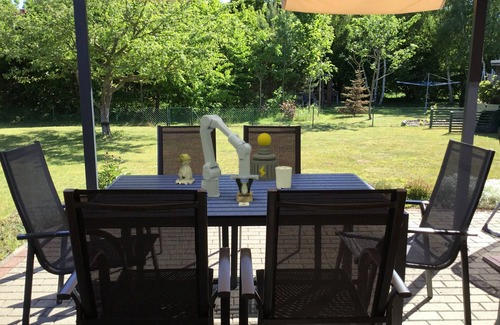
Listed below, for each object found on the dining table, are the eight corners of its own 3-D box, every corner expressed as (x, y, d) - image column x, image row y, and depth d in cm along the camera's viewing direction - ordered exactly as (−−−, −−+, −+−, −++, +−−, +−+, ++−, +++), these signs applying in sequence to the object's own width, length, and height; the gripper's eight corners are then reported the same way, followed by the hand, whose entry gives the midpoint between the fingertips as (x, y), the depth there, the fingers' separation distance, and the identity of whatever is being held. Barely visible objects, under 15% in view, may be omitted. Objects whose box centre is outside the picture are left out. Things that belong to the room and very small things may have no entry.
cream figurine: (194, 180, 272) (193, 152, 269) (195, 184, 259) (194, 154, 256) (175, 180, 270) (174, 152, 267) (175, 184, 257) (174, 155, 255)
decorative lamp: (277, 181, 265) (277, 134, 261) (248, 180, 268) (247, 134, 264) (280, 175, 284) (280, 132, 279) (252, 175, 287) (252, 131, 282)
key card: (238, 205, 205) (238, 205, 205) (239, 202, 211) (239, 202, 211) (248, 205, 205) (248, 205, 205) (249, 202, 211) (249, 202, 211)
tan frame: (236, 201, 213) (236, 197, 213) (238, 195, 227) (237, 191, 227) (252, 201, 213) (252, 197, 213) (252, 195, 227) (252, 191, 226)
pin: (240, 198, 215) (240, 183, 213) (241, 196, 218) (240, 181, 217) (248, 198, 214) (248, 183, 213) (248, 196, 218) (248, 181, 217)
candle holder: (277, 185, 252) (277, 166, 250) (293, 186, 249) (293, 166, 248) (273, 189, 243) (273, 168, 241) (290, 189, 240) (290, 169, 238)
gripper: (229, 168, 210) (230, 194, 212) (258, 168, 210) (258, 194, 212) (230, 166, 217) (231, 191, 219) (258, 166, 217) (258, 191, 219)
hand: (244, 192), depth 216 cm, fingers closed on pin, 4 cm apart
